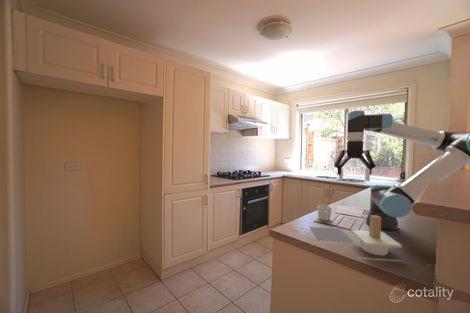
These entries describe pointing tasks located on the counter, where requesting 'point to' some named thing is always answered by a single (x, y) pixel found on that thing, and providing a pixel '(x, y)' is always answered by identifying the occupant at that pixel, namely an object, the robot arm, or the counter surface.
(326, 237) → the mat
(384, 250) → the ramekin
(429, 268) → the counter surface
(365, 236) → the cover
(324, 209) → the cup
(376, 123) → the robot arm
